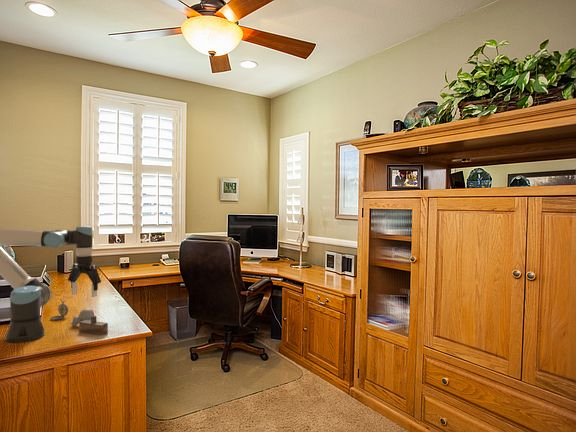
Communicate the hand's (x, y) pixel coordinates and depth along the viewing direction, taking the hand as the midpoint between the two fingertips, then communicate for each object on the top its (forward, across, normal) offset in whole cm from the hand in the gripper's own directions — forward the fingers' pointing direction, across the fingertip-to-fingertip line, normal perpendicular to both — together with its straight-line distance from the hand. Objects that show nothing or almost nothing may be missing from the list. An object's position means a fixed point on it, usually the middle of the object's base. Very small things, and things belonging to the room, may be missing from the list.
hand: (84, 295), depth 198 cm
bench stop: (+16, -14, +7) cm, 22 cm away
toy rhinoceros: (+16, 0, 0) cm, 16 cm away
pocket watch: (+16, +22, -4) cm, 28 cm away
